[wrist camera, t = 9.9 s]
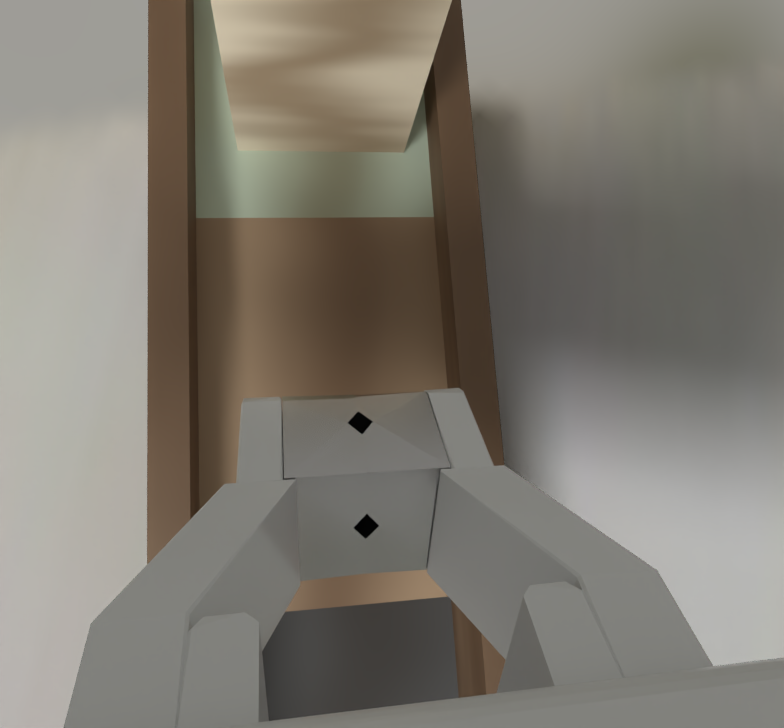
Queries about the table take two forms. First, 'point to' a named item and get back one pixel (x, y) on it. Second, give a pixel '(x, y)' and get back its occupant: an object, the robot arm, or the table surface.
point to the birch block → (326, 71)
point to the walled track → (314, 339)
